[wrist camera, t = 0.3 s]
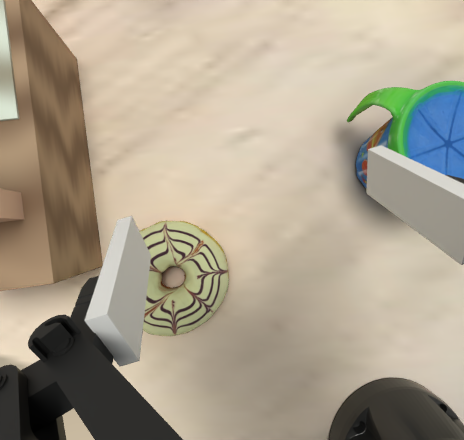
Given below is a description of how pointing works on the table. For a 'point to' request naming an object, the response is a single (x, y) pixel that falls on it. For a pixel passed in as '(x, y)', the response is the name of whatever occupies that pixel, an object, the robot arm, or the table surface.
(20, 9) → the block
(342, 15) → the table surface
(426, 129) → the snack cup
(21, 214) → the tile
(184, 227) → the decorated donut
